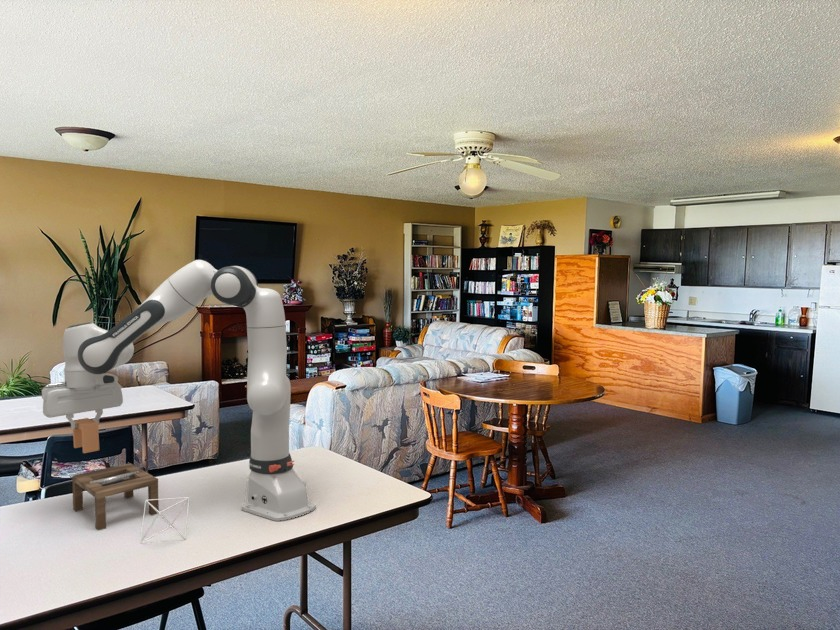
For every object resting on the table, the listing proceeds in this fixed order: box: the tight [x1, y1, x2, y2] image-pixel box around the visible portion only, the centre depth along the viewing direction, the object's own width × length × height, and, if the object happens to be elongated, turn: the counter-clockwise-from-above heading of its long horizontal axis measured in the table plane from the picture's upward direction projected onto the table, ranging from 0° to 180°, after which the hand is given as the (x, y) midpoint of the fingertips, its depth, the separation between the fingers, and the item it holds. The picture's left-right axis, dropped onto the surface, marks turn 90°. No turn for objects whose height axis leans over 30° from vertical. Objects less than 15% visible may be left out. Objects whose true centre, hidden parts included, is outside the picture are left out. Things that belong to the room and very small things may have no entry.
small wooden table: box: [71, 462, 160, 531], centre depth 170 cm, size 20×16×10 cm
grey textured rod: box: [90, 471, 139, 486], centre depth 170 cm, size 2×13×2 cm, turn 136°
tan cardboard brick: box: [72, 417, 100, 454], centre depth 172 cm, size 9×4×8 cm, turn 46°
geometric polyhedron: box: [139, 496, 190, 544], centre depth 155 cm, size 12×11×9 cm
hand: (85, 427), depth 172 cm, fingers closed on tan cardboard brick, 4 cm apart
